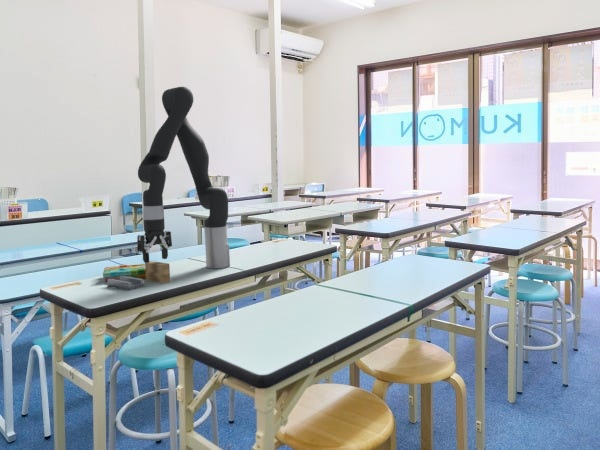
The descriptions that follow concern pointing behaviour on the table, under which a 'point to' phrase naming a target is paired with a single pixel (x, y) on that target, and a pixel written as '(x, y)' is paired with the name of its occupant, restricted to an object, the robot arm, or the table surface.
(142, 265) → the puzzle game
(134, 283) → the sill track
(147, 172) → the robot arm
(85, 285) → the table surface
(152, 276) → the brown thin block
